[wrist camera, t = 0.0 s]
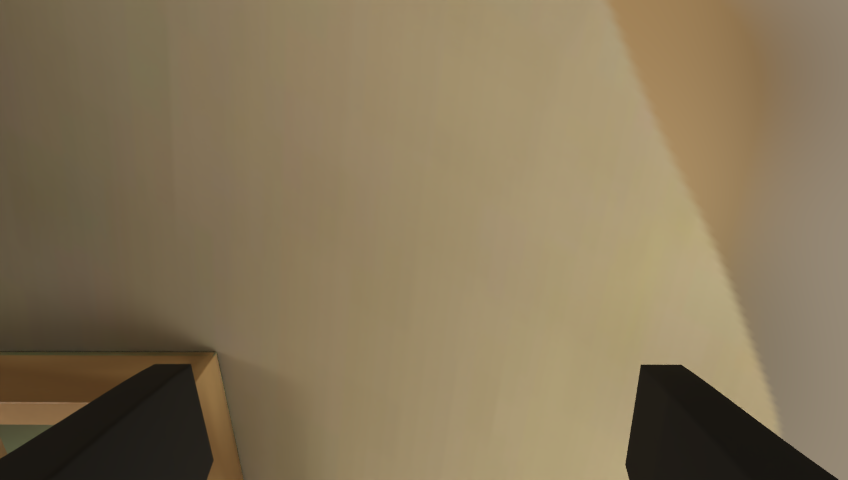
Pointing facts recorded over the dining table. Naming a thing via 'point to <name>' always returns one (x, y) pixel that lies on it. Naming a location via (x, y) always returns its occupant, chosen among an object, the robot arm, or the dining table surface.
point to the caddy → (92, 377)
